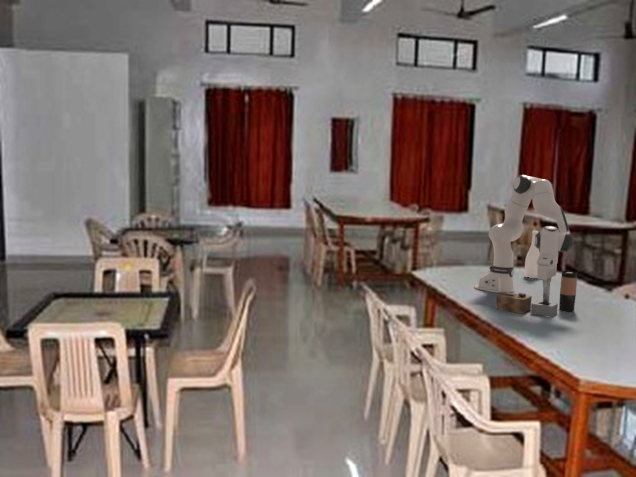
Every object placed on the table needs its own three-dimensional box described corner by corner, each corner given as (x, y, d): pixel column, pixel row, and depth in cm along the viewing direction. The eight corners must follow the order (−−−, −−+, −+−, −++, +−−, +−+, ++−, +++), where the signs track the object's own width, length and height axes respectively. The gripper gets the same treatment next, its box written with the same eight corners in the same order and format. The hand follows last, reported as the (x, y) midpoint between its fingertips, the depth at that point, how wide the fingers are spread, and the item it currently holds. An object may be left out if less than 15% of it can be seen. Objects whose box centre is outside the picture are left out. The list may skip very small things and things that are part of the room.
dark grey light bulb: (516, 309, 359) (517, 293, 358) (518, 308, 362) (519, 292, 361) (523, 310, 357) (524, 294, 356) (525, 309, 360) (526, 293, 359)
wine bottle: (541, 279, 450) (545, 232, 446) (526, 278, 450) (530, 231, 446) (537, 276, 459) (540, 230, 455) (522, 275, 459) (525, 229, 455)
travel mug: (574, 309, 366) (577, 271, 363) (574, 312, 359) (577, 273, 356) (558, 308, 368) (561, 270, 366) (558, 311, 361) (561, 272, 358)
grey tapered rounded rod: (541, 306, 354) (542, 278, 352) (543, 305, 356) (544, 277, 355) (547, 307, 352) (549, 279, 351) (549, 306, 355) (550, 278, 353)
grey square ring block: (530, 313, 354) (531, 303, 353) (537, 309, 362) (537, 300, 361) (550, 316, 348) (551, 306, 348) (556, 313, 356) (557, 303, 356)
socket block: (495, 309, 361) (496, 295, 360) (504, 305, 371) (505, 292, 370) (522, 313, 353) (523, 299, 352) (530, 309, 363) (531, 295, 362)
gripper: (548, 256, 362) (546, 282, 364) (535, 261, 345) (533, 288, 347) (560, 257, 358) (558, 284, 360) (548, 262, 341) (546, 290, 343)
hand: (546, 286), depth 353 cm, fingers closed on grey tapered rounded rod, 3 cm apart
